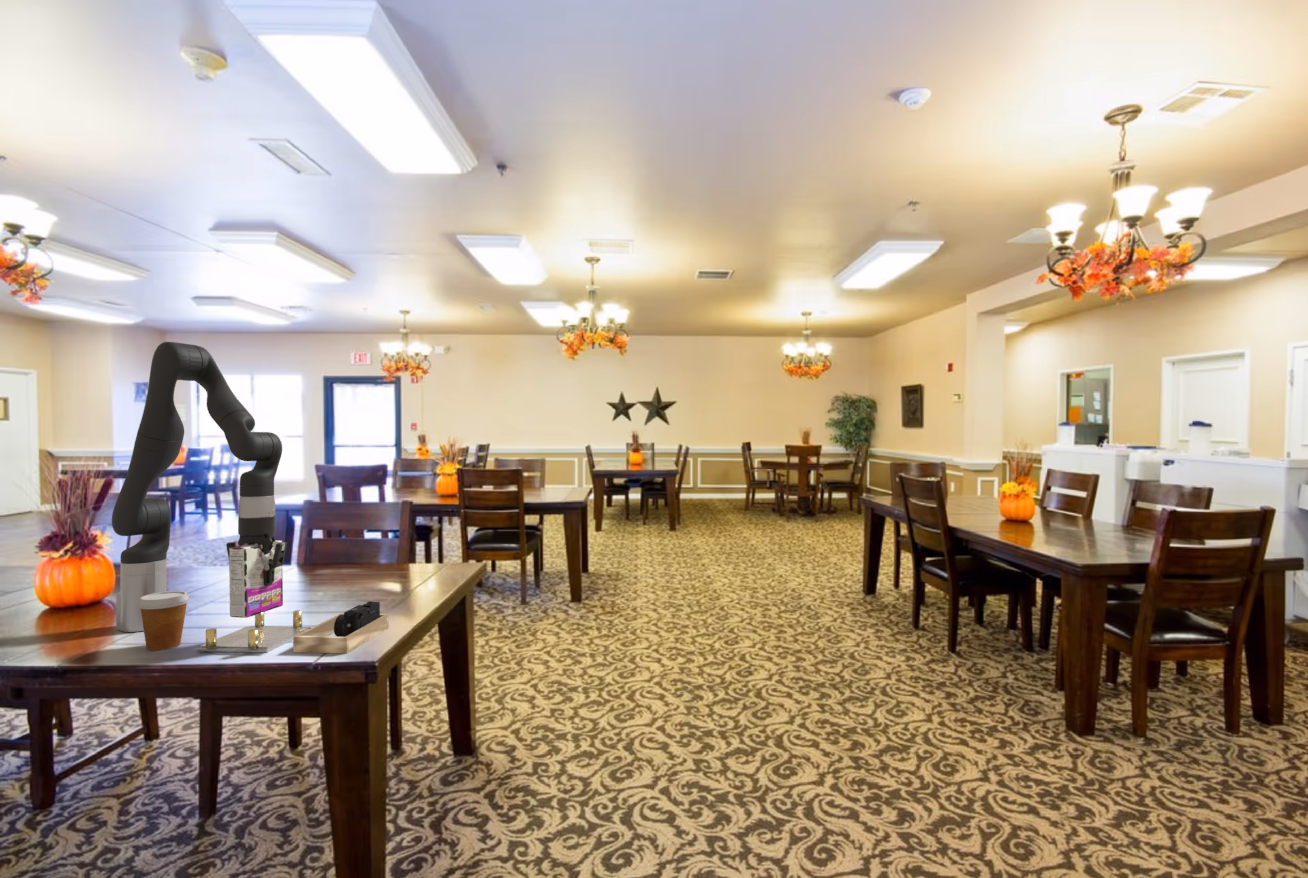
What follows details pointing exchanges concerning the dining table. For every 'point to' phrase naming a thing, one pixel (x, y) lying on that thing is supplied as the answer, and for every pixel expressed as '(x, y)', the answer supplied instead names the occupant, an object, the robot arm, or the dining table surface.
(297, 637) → the oak frame
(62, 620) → the dining table surface
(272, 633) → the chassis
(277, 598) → the candy bar box
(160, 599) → the disposable coffee cup
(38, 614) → the dining table surface
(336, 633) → the camera
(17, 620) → the dining table surface
